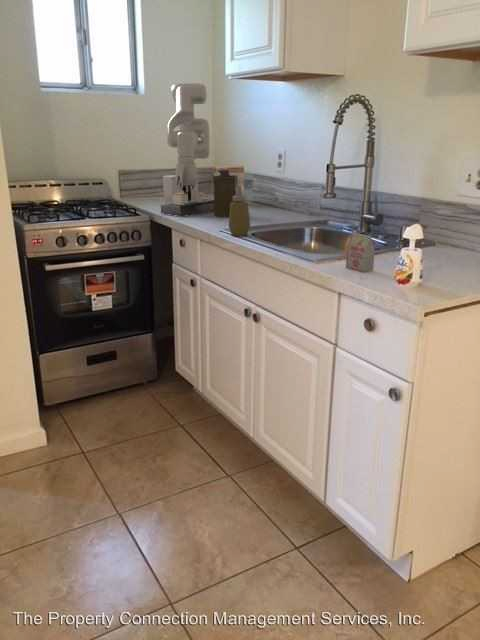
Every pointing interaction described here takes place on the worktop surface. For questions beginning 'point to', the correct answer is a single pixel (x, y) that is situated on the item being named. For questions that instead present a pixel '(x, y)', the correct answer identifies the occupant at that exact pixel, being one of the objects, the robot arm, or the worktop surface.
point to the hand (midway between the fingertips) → (187, 200)
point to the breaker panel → (188, 208)
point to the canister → (224, 193)
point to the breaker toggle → (180, 198)
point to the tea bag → (360, 253)
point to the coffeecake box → (233, 171)
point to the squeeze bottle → (239, 215)
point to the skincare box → (170, 188)
